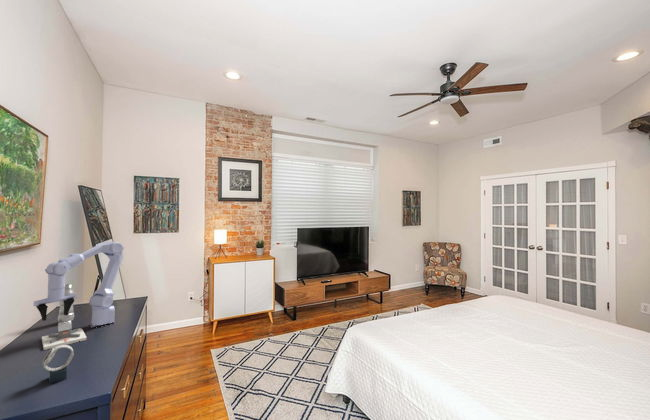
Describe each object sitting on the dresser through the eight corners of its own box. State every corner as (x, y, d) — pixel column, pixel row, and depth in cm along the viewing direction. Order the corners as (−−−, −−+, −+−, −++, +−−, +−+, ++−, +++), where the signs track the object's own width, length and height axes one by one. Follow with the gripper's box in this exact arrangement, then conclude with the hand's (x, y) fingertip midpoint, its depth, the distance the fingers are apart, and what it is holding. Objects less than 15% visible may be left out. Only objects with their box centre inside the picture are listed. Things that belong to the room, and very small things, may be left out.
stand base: (81, 330, 139) (81, 321, 140) (86, 339, 129) (87, 330, 129) (41, 339, 129) (42, 329, 129) (43, 350, 118) (44, 339, 118)
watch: (41, 379, 97) (43, 347, 97) (72, 370, 102) (73, 340, 103) (40, 386, 93) (42, 353, 93) (73, 377, 98) (74, 345, 99)
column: (70, 333, 132) (70, 320, 132) (71, 336, 129) (71, 322, 129) (57, 336, 129) (57, 323, 129) (58, 339, 126) (58, 325, 126)
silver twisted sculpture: (77, 320, 153) (78, 284, 153) (62, 325, 146) (63, 286, 147) (69, 319, 155) (71, 283, 156) (54, 323, 148) (56, 285, 149)
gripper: (71, 284, 138) (70, 311, 137) (31, 290, 125) (29, 321, 124) (78, 285, 134) (77, 313, 134) (38, 292, 121) (36, 323, 121)
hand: (55, 317), depth 129 cm, fingers open, 7 cm apart
